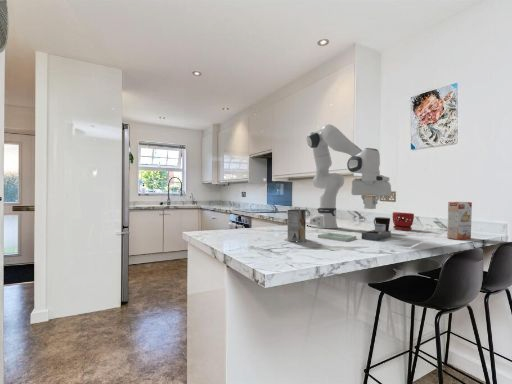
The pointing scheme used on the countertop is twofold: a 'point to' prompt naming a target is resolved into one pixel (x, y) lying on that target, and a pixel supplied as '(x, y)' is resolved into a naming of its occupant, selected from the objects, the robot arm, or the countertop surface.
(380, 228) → the twin plug
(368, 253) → the countertop surface
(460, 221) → the cracker box
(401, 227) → the plant pot
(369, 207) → the plug
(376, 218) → the coffee mug
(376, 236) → the power strip
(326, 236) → the tray
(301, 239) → the coffee box
